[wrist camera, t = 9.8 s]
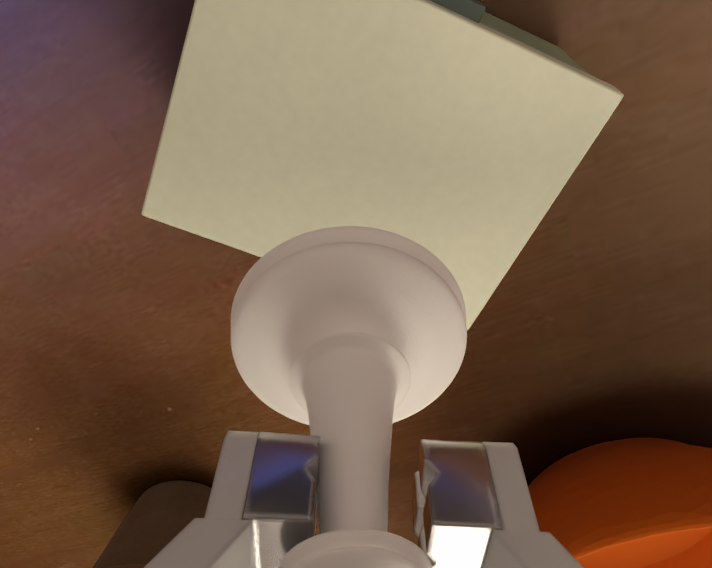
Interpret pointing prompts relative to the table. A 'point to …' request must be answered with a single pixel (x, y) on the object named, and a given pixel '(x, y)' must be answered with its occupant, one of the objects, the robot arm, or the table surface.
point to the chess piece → (350, 370)
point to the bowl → (630, 504)
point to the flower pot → (154, 523)
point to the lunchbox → (373, 128)
